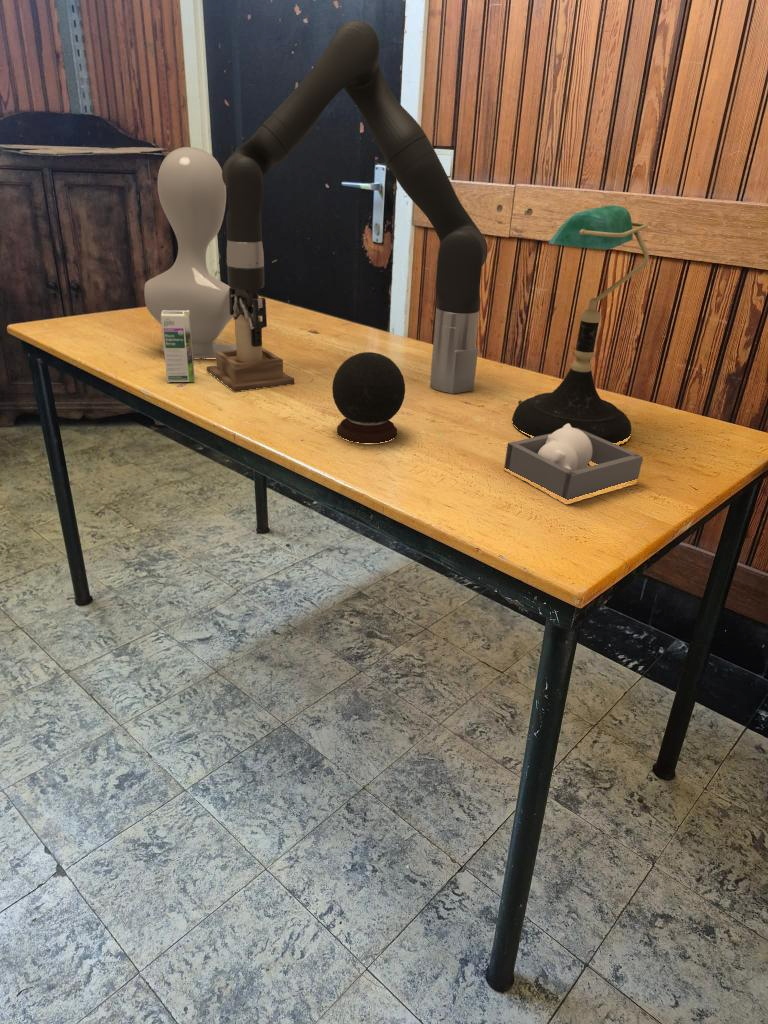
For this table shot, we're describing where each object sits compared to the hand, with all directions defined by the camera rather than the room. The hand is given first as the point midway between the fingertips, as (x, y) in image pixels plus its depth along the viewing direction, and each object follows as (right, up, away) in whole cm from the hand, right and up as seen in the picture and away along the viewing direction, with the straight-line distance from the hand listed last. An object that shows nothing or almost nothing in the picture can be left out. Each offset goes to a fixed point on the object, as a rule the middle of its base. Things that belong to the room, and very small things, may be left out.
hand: (248, 341), depth 153 cm
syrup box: (-15, -8, +1) cm, 17 cm away
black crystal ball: (+26, -23, -22) cm, 41 cm away
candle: (0, -4, +2) cm, 4 cm away
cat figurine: (+58, -31, -35) cm, 75 cm away
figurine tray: (+60, -31, -36) cm, 77 cm away
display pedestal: (0, -7, +4) cm, 8 cm away
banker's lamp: (+66, -21, -14) cm, 71 cm away
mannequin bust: (-16, +3, +21) cm, 26 cm away
